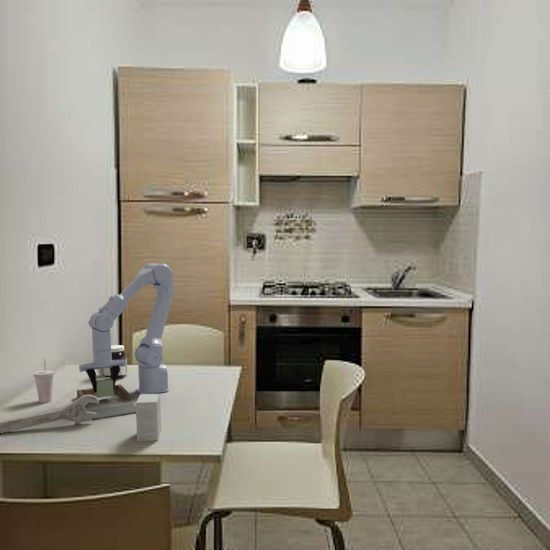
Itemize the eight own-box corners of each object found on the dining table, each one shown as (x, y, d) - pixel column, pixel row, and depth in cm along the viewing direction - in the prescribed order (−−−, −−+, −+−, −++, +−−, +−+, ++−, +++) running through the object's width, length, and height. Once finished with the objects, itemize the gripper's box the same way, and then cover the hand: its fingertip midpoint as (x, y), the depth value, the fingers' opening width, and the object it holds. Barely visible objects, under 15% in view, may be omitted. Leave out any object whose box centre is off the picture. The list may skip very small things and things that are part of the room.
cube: (110, 391, 192) (109, 377, 192) (113, 395, 188) (112, 380, 187) (94, 394, 190) (94, 379, 190) (97, 397, 185) (97, 382, 185)
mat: (132, 404, 184) (132, 403, 184) (139, 412, 176) (139, 410, 176) (86, 411, 177) (86, 410, 177) (92, 420, 169) (92, 418, 169)
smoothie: (48, 404, 185) (46, 361, 184) (30, 403, 187) (28, 361, 186) (59, 399, 192) (57, 357, 191) (42, 398, 193) (40, 356, 192)
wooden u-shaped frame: (120, 391, 200) (120, 384, 199) (129, 400, 189) (128, 392, 189) (77, 397, 193) (76, 390, 193) (83, 407, 182) (82, 399, 182)
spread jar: (122, 380, 214) (121, 349, 214) (92, 380, 215) (90, 349, 214) (130, 372, 226) (129, 343, 226) (102, 372, 227) (100, 343, 226)
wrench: (-11, 443, 160) (101, 418, 169) (-12, 446, 158) (102, 420, 167) (-16, 415, 159) (97, 392, 168) (-17, 418, 157) (97, 393, 166)
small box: (140, 431, 159) (139, 393, 158) (161, 430, 160) (160, 393, 159) (136, 442, 151) (135, 402, 150) (158, 441, 152) (156, 401, 151)
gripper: (121, 344, 195) (123, 384, 196) (76, 349, 188) (78, 390, 189) (126, 348, 188) (128, 389, 189) (80, 353, 182) (82, 396, 183)
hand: (103, 390), depth 189 cm, fingers closed on cube, 5 cm apart
